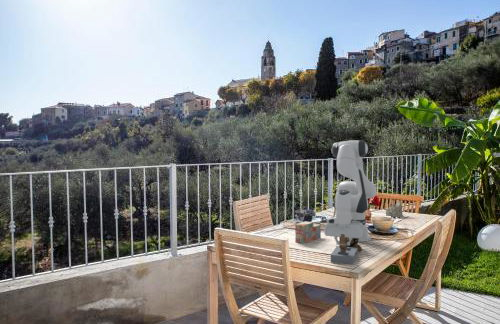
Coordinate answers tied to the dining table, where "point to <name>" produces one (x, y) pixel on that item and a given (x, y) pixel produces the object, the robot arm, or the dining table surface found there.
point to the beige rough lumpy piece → (354, 243)
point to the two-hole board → (344, 255)
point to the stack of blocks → (307, 232)
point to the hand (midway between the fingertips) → (343, 245)
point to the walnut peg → (343, 243)
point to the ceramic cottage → (395, 210)
